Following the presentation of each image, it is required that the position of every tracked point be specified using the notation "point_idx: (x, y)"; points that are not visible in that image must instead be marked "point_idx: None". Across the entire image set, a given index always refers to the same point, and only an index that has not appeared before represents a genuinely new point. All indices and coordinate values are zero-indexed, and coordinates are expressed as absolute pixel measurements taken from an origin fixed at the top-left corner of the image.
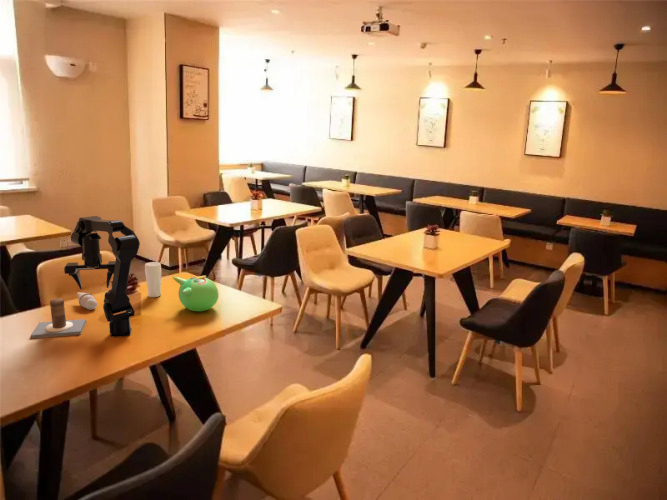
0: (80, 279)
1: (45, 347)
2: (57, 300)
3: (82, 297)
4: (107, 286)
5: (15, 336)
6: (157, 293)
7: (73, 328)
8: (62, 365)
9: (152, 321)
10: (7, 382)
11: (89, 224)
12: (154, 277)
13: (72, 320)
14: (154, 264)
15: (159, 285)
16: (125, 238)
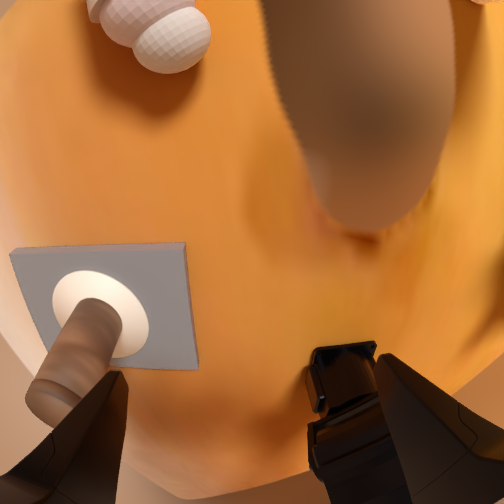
0: (86, 462)
1: (129, 407)
2: (56, 415)
3: (104, 8)
4: (383, 389)
5: (9, 324)
6: (491, 2)
7: (161, 343)
8: (209, 461)
9: (447, 280)
10: (141, 472)
11: None
12: None
13: (121, 257)
14: None
15: None
16: None
